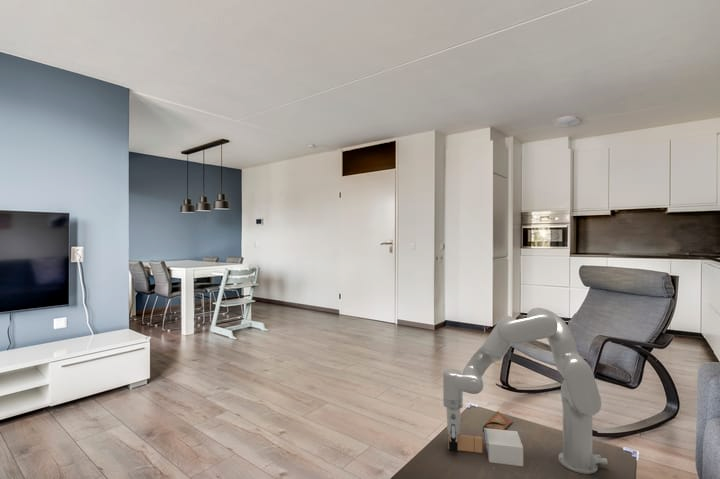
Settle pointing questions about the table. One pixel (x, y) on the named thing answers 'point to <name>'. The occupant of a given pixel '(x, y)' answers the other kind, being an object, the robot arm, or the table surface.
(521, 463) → the white box
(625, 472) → the table surface
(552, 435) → the table surface
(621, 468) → the table surface
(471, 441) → the tan banded plank
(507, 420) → the sunglasses case
